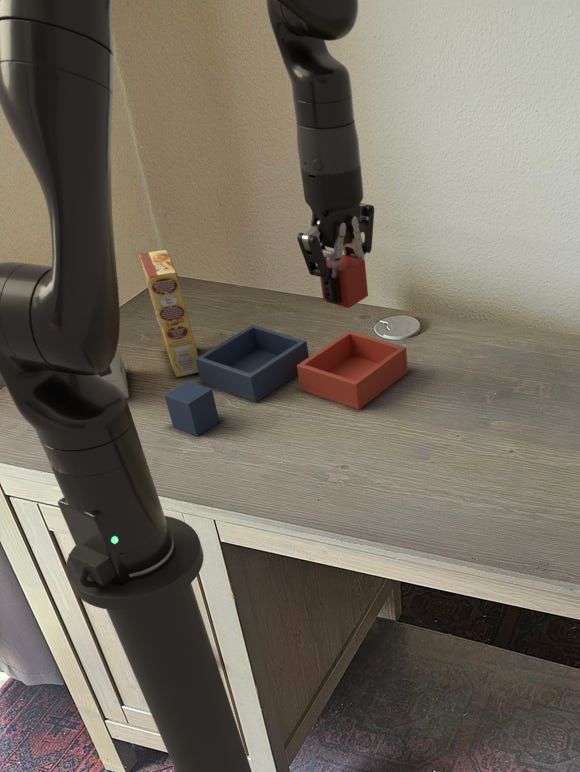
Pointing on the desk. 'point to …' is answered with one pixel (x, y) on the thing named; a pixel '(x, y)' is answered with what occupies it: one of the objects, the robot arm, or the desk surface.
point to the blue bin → (252, 362)
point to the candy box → (170, 311)
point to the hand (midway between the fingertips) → (345, 295)
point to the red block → (350, 280)
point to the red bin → (353, 369)
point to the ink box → (116, 374)
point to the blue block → (192, 408)
